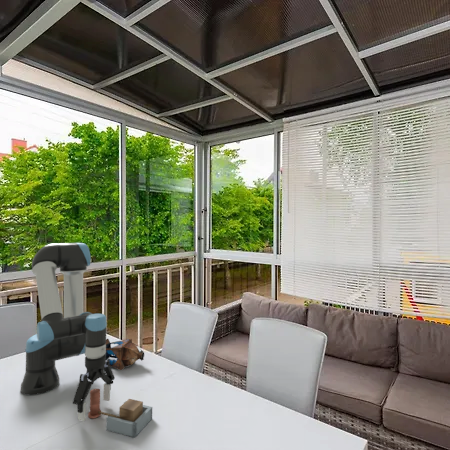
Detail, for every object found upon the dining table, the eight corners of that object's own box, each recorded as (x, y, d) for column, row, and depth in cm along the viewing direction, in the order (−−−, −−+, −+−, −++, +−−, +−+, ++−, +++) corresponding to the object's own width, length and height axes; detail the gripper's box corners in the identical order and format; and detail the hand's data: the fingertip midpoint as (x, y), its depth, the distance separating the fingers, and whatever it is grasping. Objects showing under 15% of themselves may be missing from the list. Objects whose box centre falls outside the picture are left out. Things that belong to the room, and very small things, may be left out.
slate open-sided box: (106, 430, 113) (106, 417, 113) (125, 412, 124) (125, 400, 124) (134, 437, 110) (134, 425, 110) (152, 418, 120) (152, 407, 120)
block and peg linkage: (84, 417, 120) (84, 393, 120) (95, 408, 125) (95, 386, 125) (133, 430, 113) (133, 405, 113) (142, 420, 119) (142, 396, 119)
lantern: (99, 375, 166) (143, 377, 162) (86, 361, 155) (133, 363, 151) (111, 346, 178) (152, 347, 174) (99, 331, 168) (143, 332, 163)
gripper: (79, 370, 109) (78, 431, 109) (123, 344, 132) (123, 394, 133) (62, 367, 111) (61, 426, 111) (109, 342, 135) (108, 391, 135)
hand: (94, 409), depth 122 cm, fingers open, 13 cm apart
